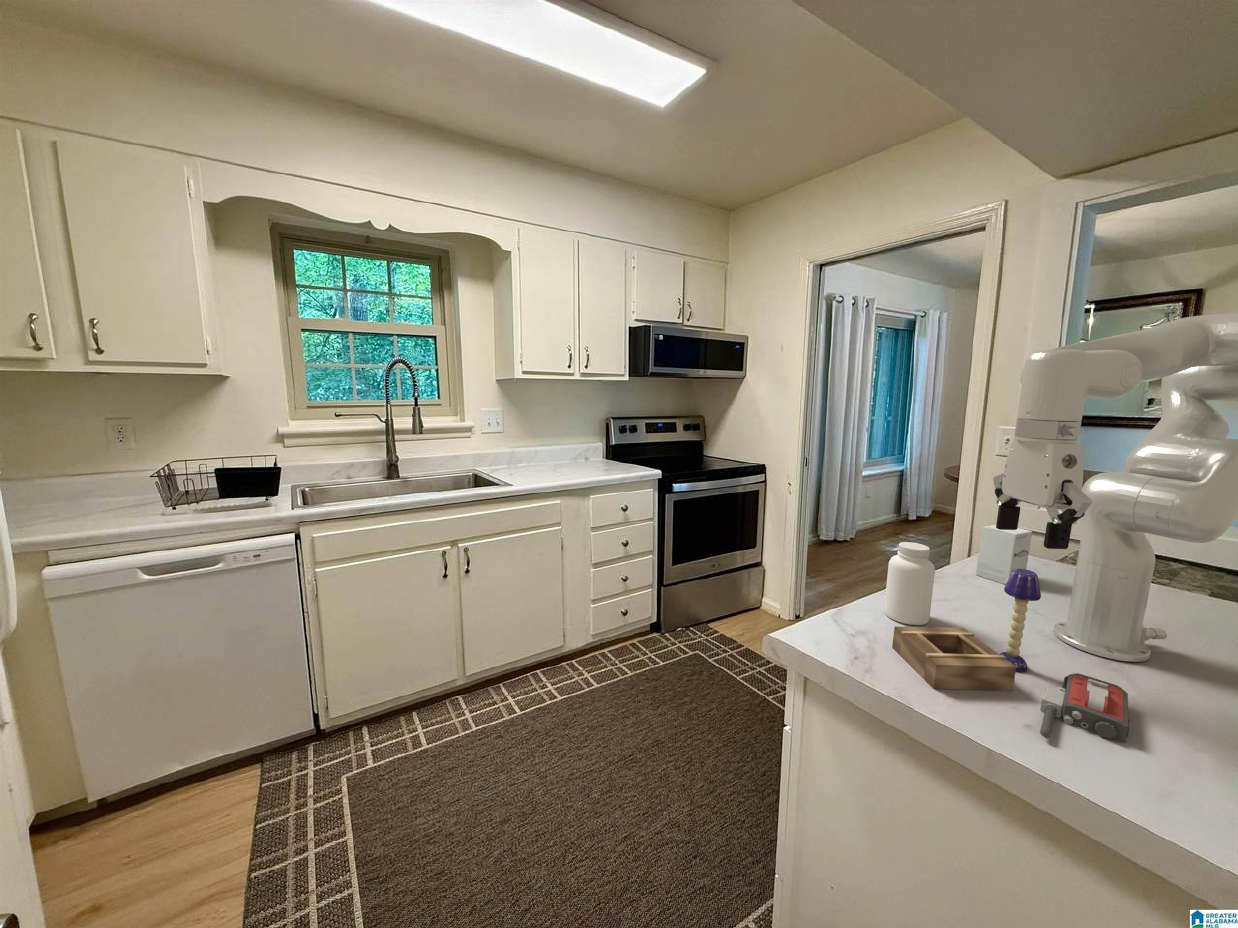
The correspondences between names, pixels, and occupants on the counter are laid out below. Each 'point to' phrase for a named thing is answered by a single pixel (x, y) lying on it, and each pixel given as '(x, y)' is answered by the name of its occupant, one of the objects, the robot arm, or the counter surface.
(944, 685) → the tan wooden square frame
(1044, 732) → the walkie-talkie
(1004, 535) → the supplement box
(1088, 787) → the counter surface
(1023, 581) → the toy lamp
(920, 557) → the pill bottle
